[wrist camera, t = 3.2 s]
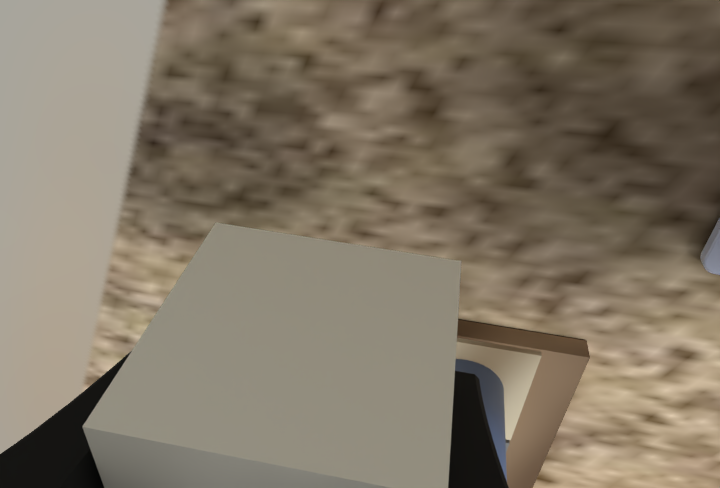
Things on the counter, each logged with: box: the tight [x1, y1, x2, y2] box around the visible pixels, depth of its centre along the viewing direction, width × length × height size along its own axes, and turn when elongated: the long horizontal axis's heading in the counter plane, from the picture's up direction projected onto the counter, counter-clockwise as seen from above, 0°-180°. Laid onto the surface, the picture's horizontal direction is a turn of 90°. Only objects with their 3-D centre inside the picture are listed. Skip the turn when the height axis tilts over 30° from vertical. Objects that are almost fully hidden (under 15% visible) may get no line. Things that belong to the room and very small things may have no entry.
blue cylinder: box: [455, 359, 507, 481], centre depth 19 cm, size 3×3×7 cm
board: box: [456, 320, 590, 488], centre depth 27 cm, size 12×20×1 cm, turn 176°
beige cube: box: [82, 223, 461, 488], centre depth 11 cm, size 5×5×5 cm
